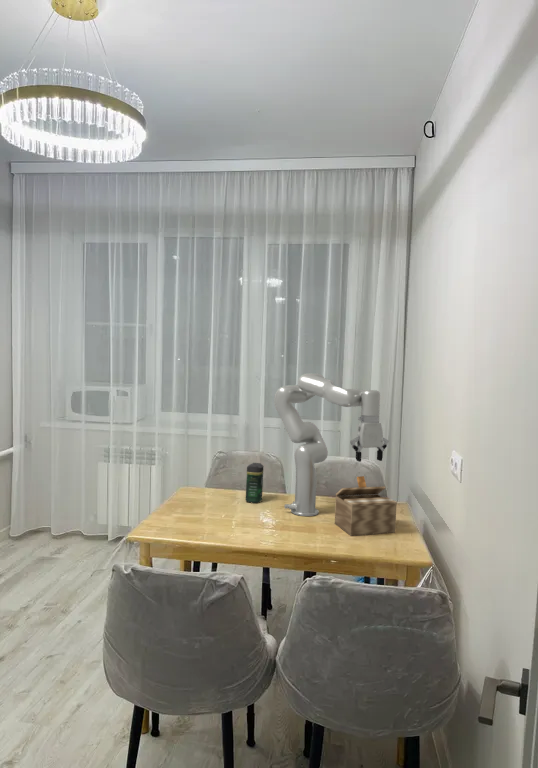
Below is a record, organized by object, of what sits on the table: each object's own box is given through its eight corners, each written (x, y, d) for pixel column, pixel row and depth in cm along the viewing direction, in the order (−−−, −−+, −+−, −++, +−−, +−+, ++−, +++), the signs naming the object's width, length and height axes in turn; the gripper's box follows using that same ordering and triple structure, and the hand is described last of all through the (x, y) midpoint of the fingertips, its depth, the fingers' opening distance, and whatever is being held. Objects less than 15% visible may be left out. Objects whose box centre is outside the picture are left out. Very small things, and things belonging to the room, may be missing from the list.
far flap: (342, 489, 218) (339, 476, 220) (335, 495, 224) (333, 483, 227) (385, 488, 223) (382, 475, 226) (377, 494, 230) (374, 481, 232)
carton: (350, 536, 209) (352, 503, 209) (334, 523, 224) (335, 493, 224) (395, 533, 215) (396, 501, 214) (376, 521, 230) (377, 492, 230)
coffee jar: (259, 504, 251) (261, 465, 250) (243, 502, 253) (245, 464, 252) (263, 499, 261) (265, 462, 260) (248, 497, 262) (249, 461, 261)
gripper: (355, 420, 211) (354, 463, 211) (393, 420, 216) (392, 461, 216) (347, 419, 218) (346, 459, 218) (383, 418, 223) (382, 458, 224)
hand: (369, 460), depth 217 cm, fingers open, 9 cm apart
